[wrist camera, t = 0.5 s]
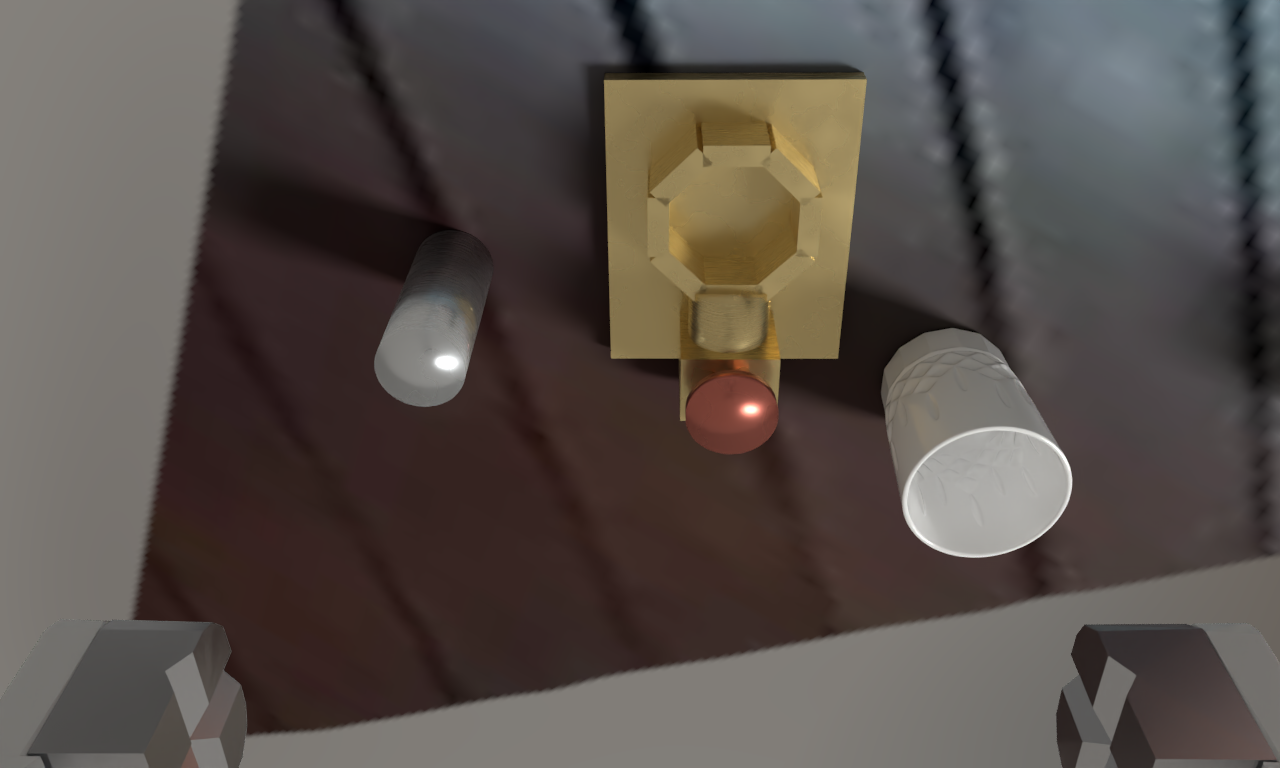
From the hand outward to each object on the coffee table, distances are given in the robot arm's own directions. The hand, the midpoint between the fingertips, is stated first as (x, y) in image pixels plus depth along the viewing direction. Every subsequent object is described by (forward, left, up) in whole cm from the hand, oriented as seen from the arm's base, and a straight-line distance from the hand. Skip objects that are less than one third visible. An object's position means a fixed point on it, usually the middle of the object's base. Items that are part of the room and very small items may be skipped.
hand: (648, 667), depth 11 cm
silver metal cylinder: (+18, -10, -44) cm, 49 cm away
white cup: (+25, +16, -45) cm, 54 cm away
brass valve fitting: (+17, +4, -44) cm, 48 cm away
